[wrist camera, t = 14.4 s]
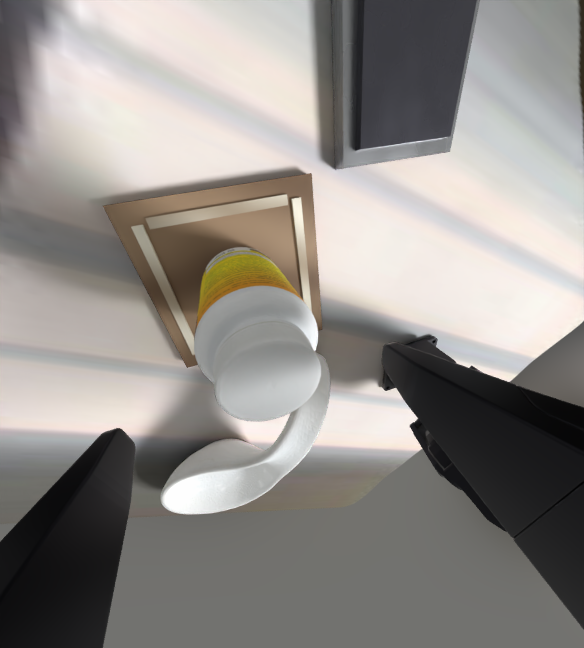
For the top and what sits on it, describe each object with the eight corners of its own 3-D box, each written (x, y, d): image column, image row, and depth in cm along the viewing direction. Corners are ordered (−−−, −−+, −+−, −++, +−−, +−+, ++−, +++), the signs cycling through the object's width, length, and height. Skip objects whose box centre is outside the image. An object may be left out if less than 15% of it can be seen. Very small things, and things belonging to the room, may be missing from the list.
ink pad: (435, 153, 17) (457, 150, 15) (335, 169, 15) (348, 167, 14) (479, -97, 11) (519, -140, 10) (329, -107, 10) (349, -158, 8)
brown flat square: (318, 325, 21) (323, 330, 21) (187, 361, 19) (186, 369, 19) (307, 173, 15) (312, 173, 14) (108, 204, 13) (101, 206, 12)
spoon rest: (241, 485, 32) (247, 552, 26) (150, 483, 26) (131, 568, 20) (344, 361, 25) (383, 414, 19) (251, 321, 20) (267, 379, 14)
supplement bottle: (185, 264, 15) (147, 366, 6) (263, 232, 15) (325, 289, 7) (224, 329, 18) (234, 454, 10) (289, 301, 18) (352, 398, 10)
